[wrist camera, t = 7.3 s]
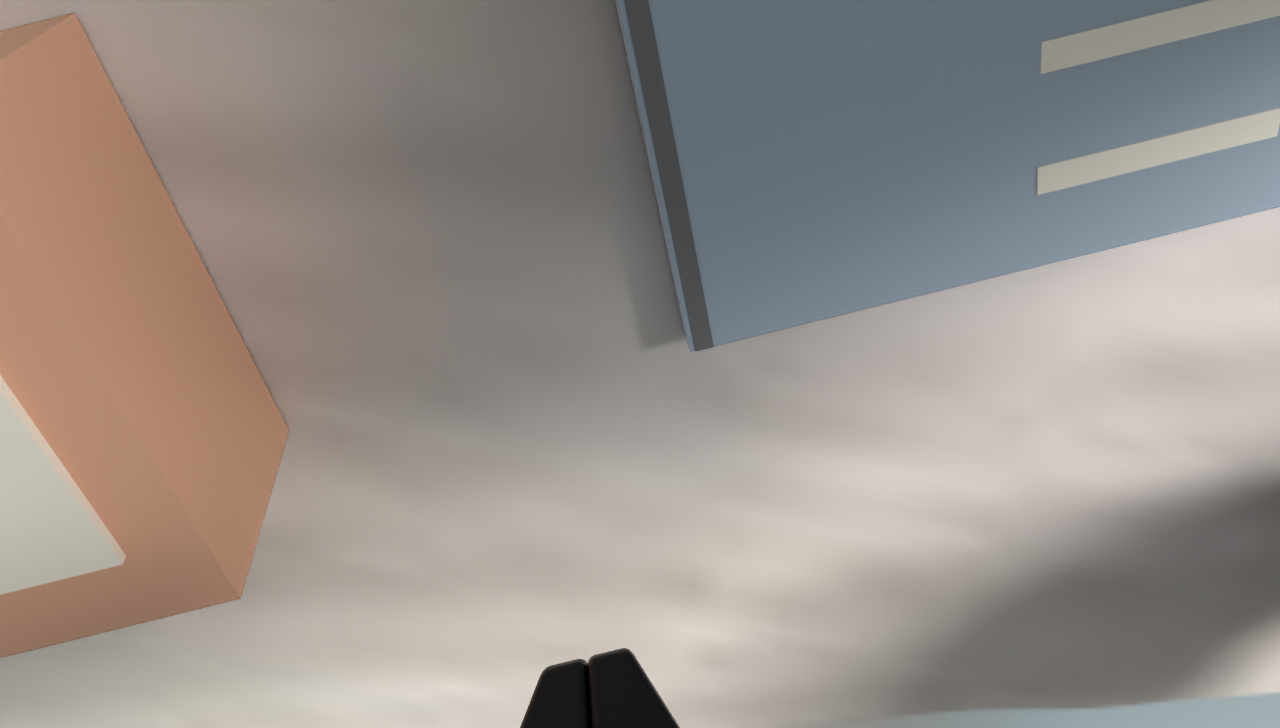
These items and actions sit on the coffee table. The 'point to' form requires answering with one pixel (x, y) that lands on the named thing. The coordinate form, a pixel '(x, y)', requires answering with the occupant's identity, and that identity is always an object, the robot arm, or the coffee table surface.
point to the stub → (111, 371)
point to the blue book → (937, 141)
